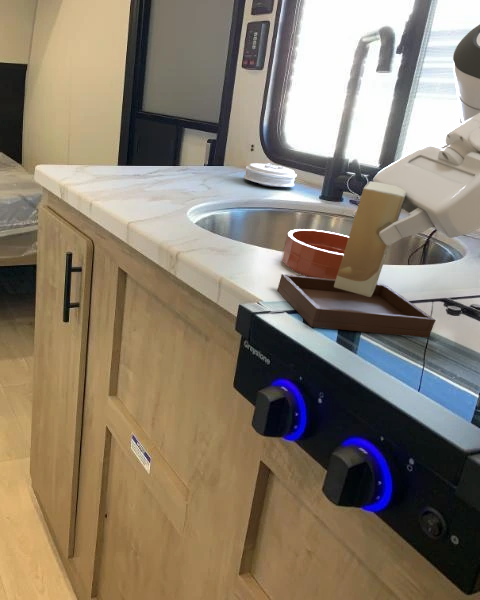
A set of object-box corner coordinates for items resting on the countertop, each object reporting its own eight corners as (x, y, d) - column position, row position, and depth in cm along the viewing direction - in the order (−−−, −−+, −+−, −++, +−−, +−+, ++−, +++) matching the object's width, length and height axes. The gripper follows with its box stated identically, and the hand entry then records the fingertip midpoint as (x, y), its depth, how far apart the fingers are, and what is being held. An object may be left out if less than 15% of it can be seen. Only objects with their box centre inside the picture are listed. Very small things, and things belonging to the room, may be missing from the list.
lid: (302, 192, 149) (307, 172, 147) (254, 187, 147) (259, 167, 145) (279, 181, 160) (284, 162, 158) (235, 177, 158) (239, 158, 156)
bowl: (346, 261, 95) (354, 234, 93) (388, 291, 83) (398, 261, 82) (268, 253, 94) (275, 225, 92) (299, 282, 82) (308, 251, 80)
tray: (380, 300, 79) (385, 284, 78) (429, 338, 69) (436, 320, 68) (277, 290, 78) (281, 273, 77) (311, 327, 68) (316, 308, 67)
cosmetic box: (340, 275, 76) (369, 180, 71) (377, 284, 74) (409, 187, 70) (332, 288, 71) (362, 186, 66) (370, 298, 69) (405, 194, 64)
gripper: (431, 123, 74) (330, 189, 79) (525, 144, 55) (385, 230, 60) (455, 164, 76) (354, 227, 80) (555, 198, 57) (415, 278, 61)
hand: (368, 228), depth 70 cm, fingers closed on cosmetic box, 7 cm apart
